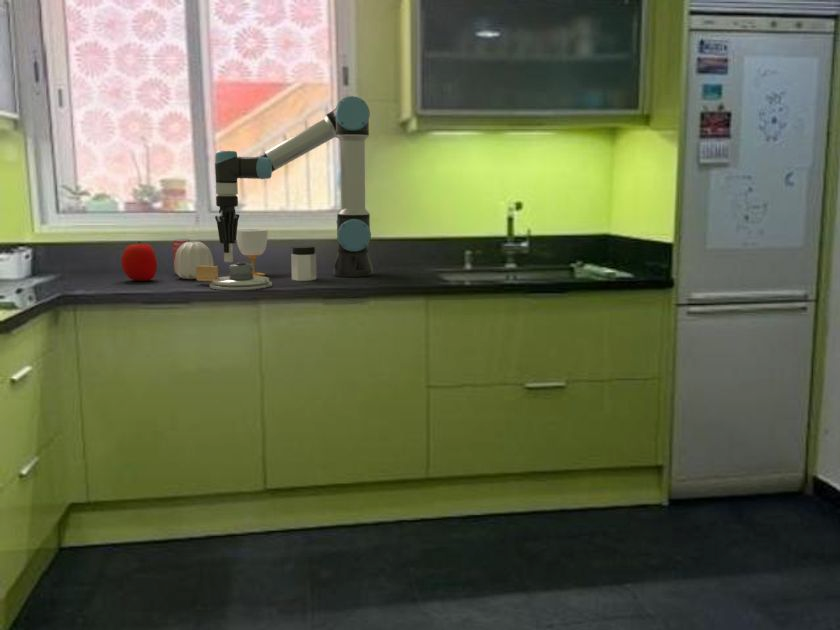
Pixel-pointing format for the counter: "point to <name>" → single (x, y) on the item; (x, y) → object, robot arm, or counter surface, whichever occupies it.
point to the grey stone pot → (241, 271)
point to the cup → (252, 244)
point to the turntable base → (239, 287)
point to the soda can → (177, 244)
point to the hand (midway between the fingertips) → (228, 261)
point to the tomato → (139, 262)
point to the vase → (191, 259)
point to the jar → (303, 263)
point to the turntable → (212, 275)
